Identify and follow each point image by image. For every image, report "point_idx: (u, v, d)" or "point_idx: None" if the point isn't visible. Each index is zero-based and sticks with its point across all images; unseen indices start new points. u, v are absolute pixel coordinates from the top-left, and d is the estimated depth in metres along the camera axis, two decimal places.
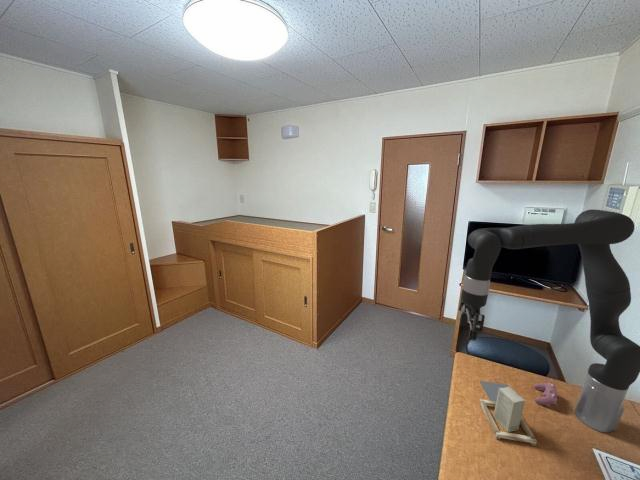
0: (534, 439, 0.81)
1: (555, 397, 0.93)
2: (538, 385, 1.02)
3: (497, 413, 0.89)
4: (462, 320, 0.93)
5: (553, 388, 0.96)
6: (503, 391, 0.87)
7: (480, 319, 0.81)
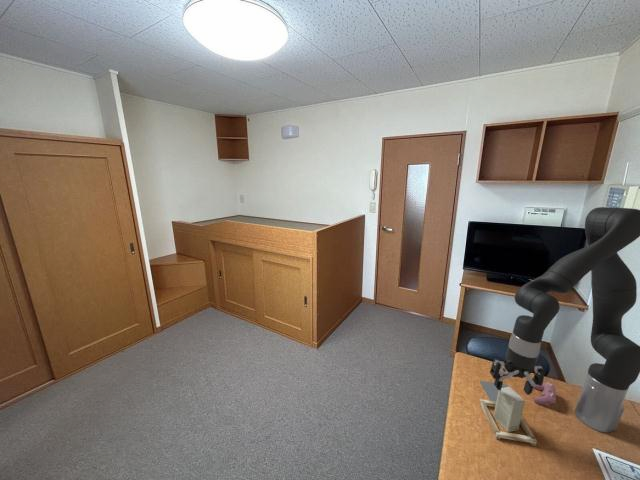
0: (534, 439, 0.81)
1: (554, 397, 0.94)
2: (537, 385, 1.02)
3: (497, 413, 0.89)
4: None
5: (552, 388, 0.96)
6: (503, 391, 0.87)
7: None
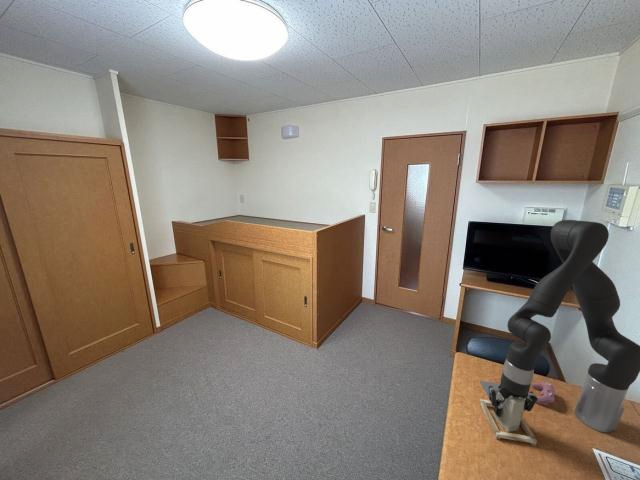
0: (534, 439, 0.81)
1: (552, 396, 0.94)
2: (536, 384, 1.02)
3: None
4: None
5: (550, 387, 0.97)
6: None
7: None
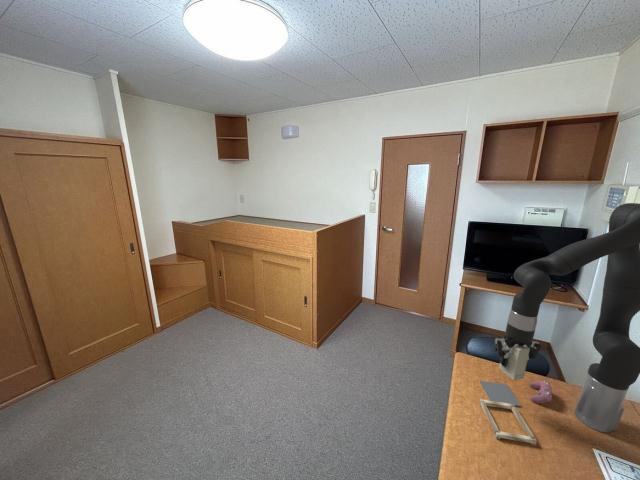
0: (534, 439, 0.81)
1: (550, 395, 0.94)
2: (533, 383, 1.03)
3: None
4: None
5: (548, 386, 0.97)
6: None
7: None
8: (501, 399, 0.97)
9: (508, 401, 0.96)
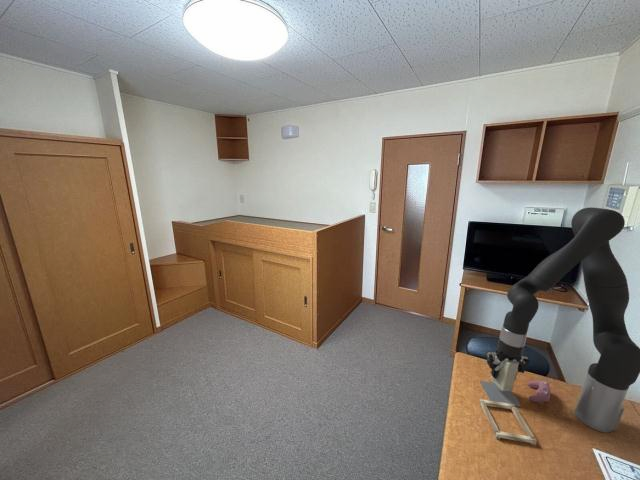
0: (534, 439, 0.81)
1: (548, 394, 0.94)
2: (532, 383, 1.03)
3: None
4: None
5: (546, 386, 0.97)
6: None
7: None
8: (501, 399, 0.97)
9: (508, 401, 0.96)
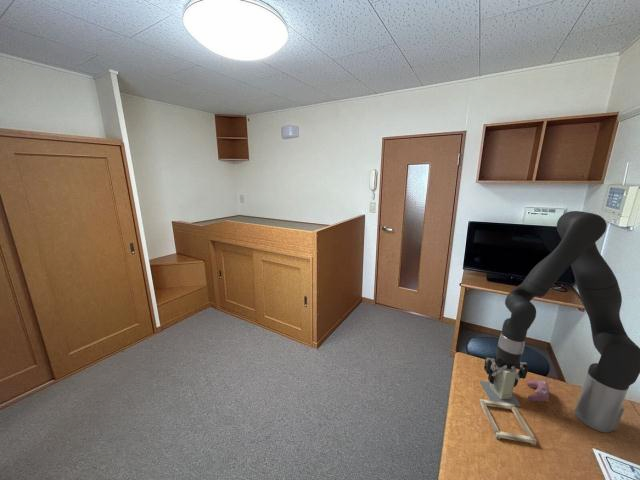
0: (534, 439, 0.81)
1: (547, 394, 0.95)
2: (531, 382, 1.03)
3: (493, 384, 1.01)
4: None
5: (545, 385, 0.97)
6: None
7: None
8: (501, 399, 0.97)
9: (508, 401, 0.96)
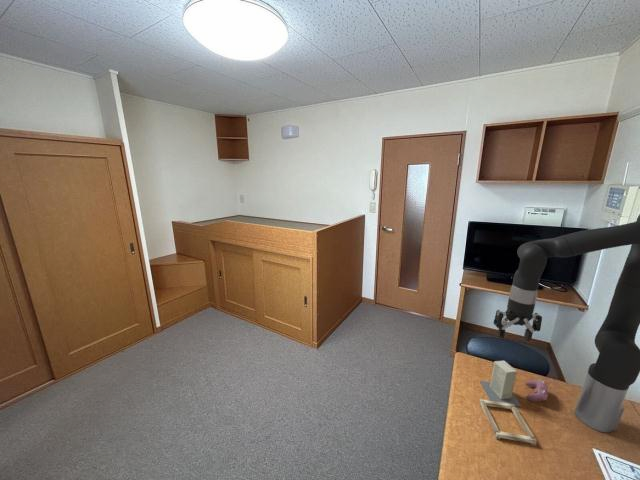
0: (534, 439, 0.81)
1: (546, 394, 0.95)
2: (529, 382, 1.03)
3: (493, 384, 1.01)
4: None
5: (544, 385, 0.98)
6: (498, 364, 0.98)
7: None
8: (501, 399, 0.97)
9: (508, 401, 0.96)
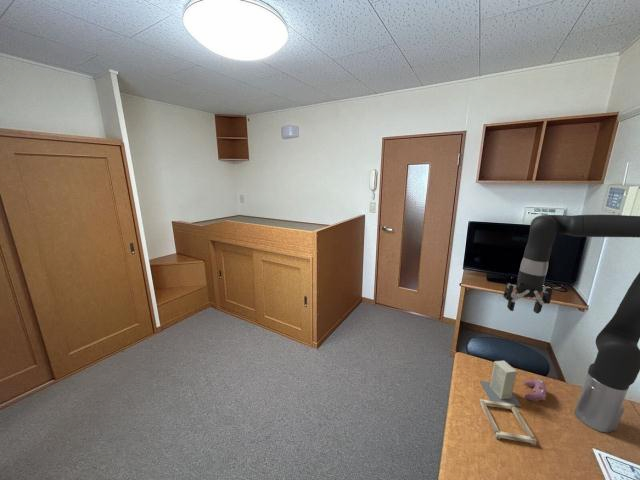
0: (534, 439, 0.81)
1: (544, 393, 0.95)
2: (528, 381, 1.03)
3: (493, 384, 1.01)
4: None
5: (542, 384, 0.98)
6: (498, 364, 0.98)
7: None
8: (501, 399, 0.97)
9: (508, 401, 0.96)
